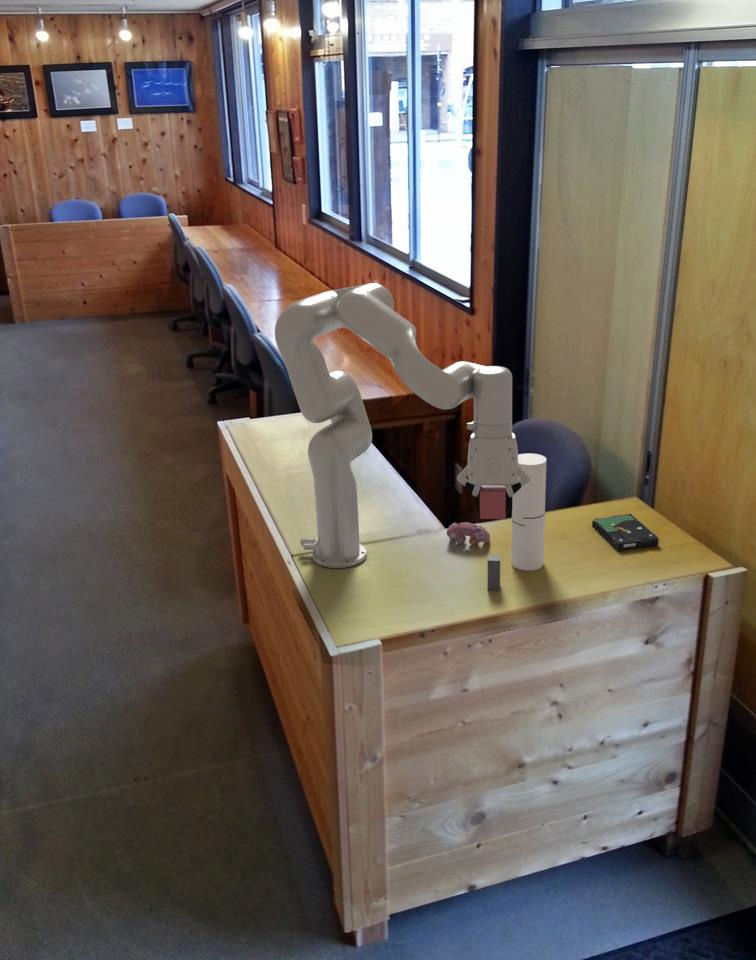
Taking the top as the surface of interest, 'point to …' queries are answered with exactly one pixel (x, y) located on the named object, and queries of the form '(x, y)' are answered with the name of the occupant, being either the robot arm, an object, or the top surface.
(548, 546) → the top surface
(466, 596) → the top surface
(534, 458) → the cylindrical container
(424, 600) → the top surface
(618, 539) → the disk drive
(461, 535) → the purple lumpy figure
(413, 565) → the top surface
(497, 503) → the pink matte cube
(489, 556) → the post
